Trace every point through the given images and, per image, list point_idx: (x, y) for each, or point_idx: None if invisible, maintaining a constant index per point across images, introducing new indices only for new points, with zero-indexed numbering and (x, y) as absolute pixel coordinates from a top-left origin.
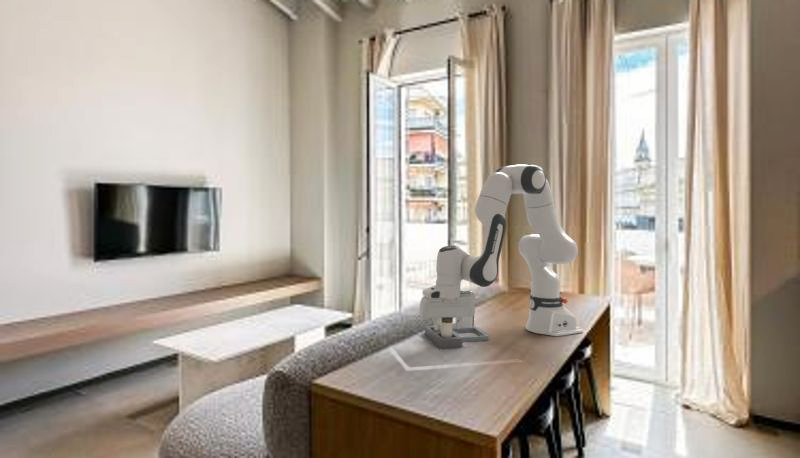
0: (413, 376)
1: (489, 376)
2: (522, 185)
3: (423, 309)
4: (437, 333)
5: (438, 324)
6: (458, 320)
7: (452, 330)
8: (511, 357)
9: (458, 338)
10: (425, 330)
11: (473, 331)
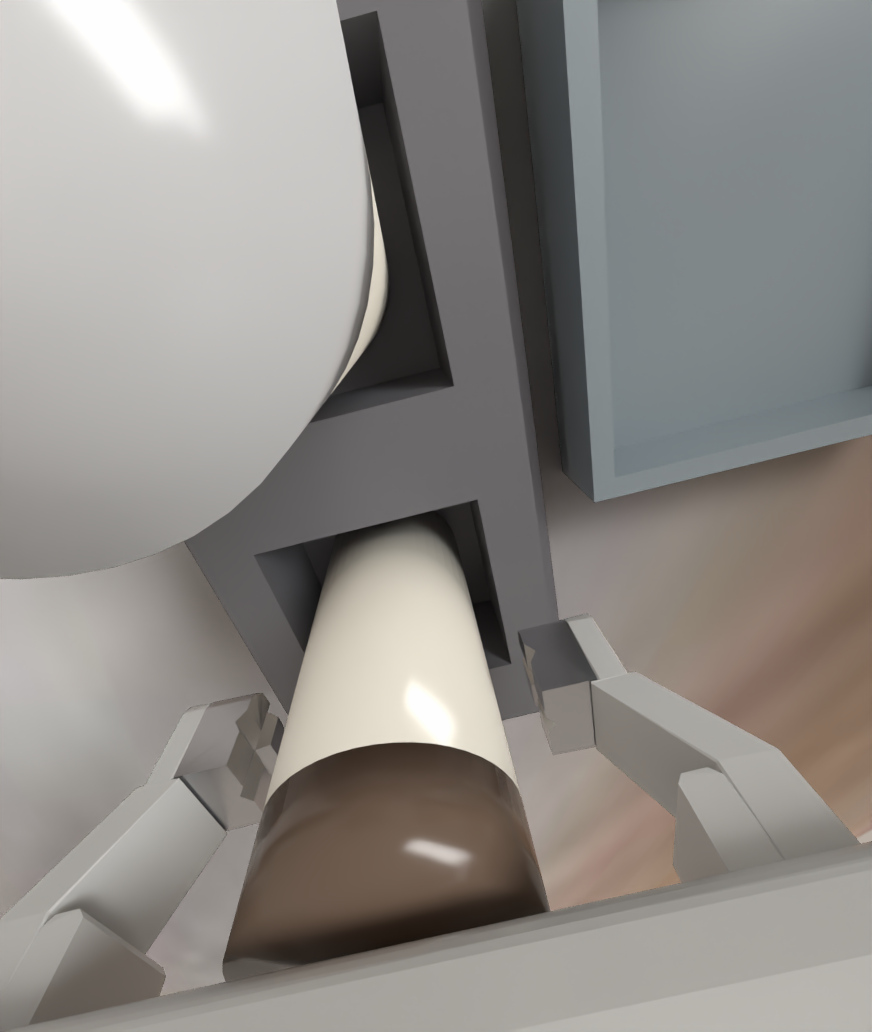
0: (198, 950)
1: (550, 907)
2: None
3: None
4: (261, 551)
5: (218, 783)
6: (676, 794)
7: (585, 42)
8: (811, 720)
9: (519, 708)
10: None
11: None
